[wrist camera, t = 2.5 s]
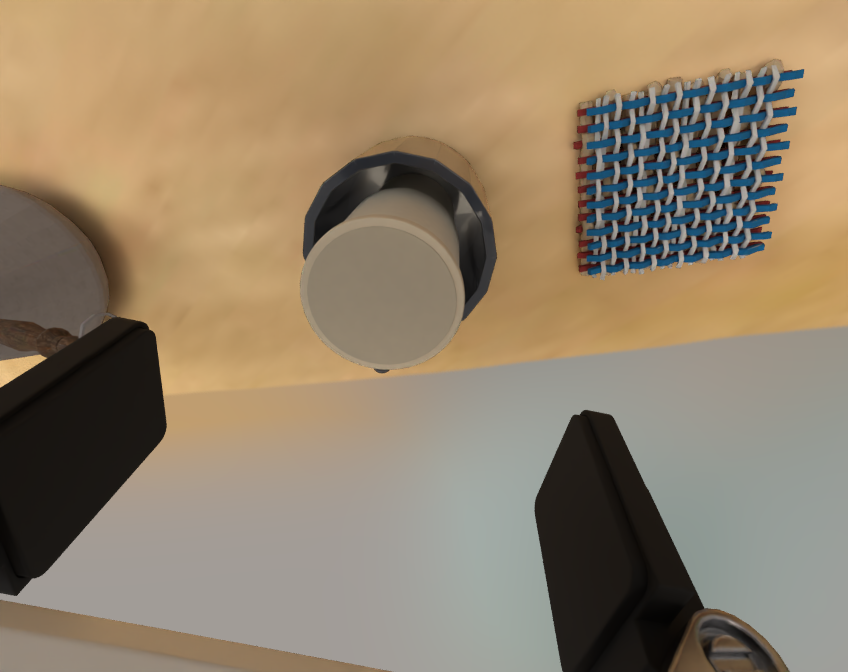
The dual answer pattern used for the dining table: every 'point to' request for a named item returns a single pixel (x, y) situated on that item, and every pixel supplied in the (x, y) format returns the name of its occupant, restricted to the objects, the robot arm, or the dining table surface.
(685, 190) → the woven mat
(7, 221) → the coffee pot
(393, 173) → the mug
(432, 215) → the paper cup
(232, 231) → the dining table surface
